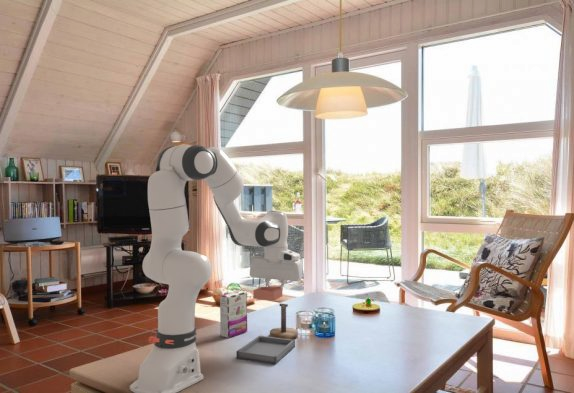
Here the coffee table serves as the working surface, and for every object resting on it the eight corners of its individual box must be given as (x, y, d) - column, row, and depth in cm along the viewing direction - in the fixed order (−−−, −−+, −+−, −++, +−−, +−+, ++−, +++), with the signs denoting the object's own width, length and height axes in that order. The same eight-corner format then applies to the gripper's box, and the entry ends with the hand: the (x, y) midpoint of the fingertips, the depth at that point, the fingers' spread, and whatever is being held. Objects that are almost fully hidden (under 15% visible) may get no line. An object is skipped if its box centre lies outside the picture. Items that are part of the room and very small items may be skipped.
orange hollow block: (274, 300, 160) (274, 291, 160) (253, 298, 163) (253, 290, 163) (286, 294, 171) (286, 286, 172) (267, 292, 174) (267, 284, 174)
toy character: (383, 311, 221) (383, 297, 221) (368, 316, 213) (368, 301, 213) (365, 307, 229) (365, 294, 229) (350, 311, 221) (350, 298, 221)
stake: (291, 342, 174) (291, 308, 174) (265, 339, 178) (265, 305, 178) (301, 334, 184) (301, 301, 184) (276, 331, 188) (276, 299, 188)
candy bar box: (238, 329, 190) (238, 290, 190) (247, 331, 187) (247, 291, 187) (219, 336, 181) (219, 294, 181) (228, 338, 178) (228, 296, 178)
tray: (275, 364, 151) (275, 356, 151) (236, 358, 157) (236, 351, 157) (295, 346, 169) (295, 340, 169) (258, 342, 174) (258, 335, 174)
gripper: (247, 253, 172) (246, 290, 172) (298, 256, 165) (297, 294, 165) (254, 251, 178) (253, 287, 178) (304, 254, 171) (303, 291, 171)
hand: (275, 291), depth 171 cm, fingers closed on orange hollow block, 2 cm apart
